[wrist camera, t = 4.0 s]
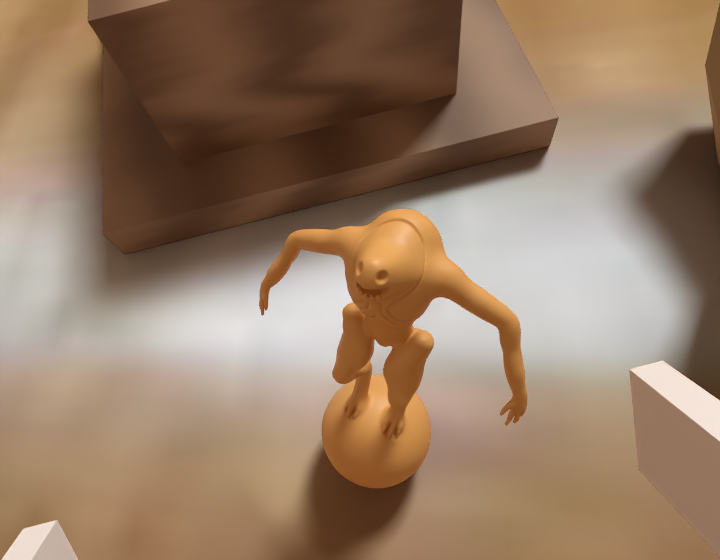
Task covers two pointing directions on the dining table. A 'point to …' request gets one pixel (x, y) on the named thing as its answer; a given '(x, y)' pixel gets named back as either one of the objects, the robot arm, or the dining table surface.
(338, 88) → the pedestal
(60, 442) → the dining table surface
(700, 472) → the robot arm
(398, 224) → the figurine
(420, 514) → the dining table surface
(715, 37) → the low-poly potato
